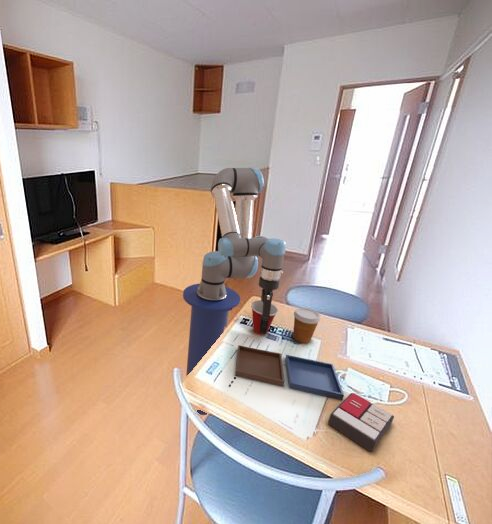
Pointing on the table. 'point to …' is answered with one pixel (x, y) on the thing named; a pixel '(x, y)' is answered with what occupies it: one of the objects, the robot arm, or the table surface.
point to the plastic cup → (257, 313)
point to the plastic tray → (313, 377)
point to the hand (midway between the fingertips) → (262, 324)
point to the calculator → (361, 421)
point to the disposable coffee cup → (305, 324)
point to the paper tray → (260, 365)
